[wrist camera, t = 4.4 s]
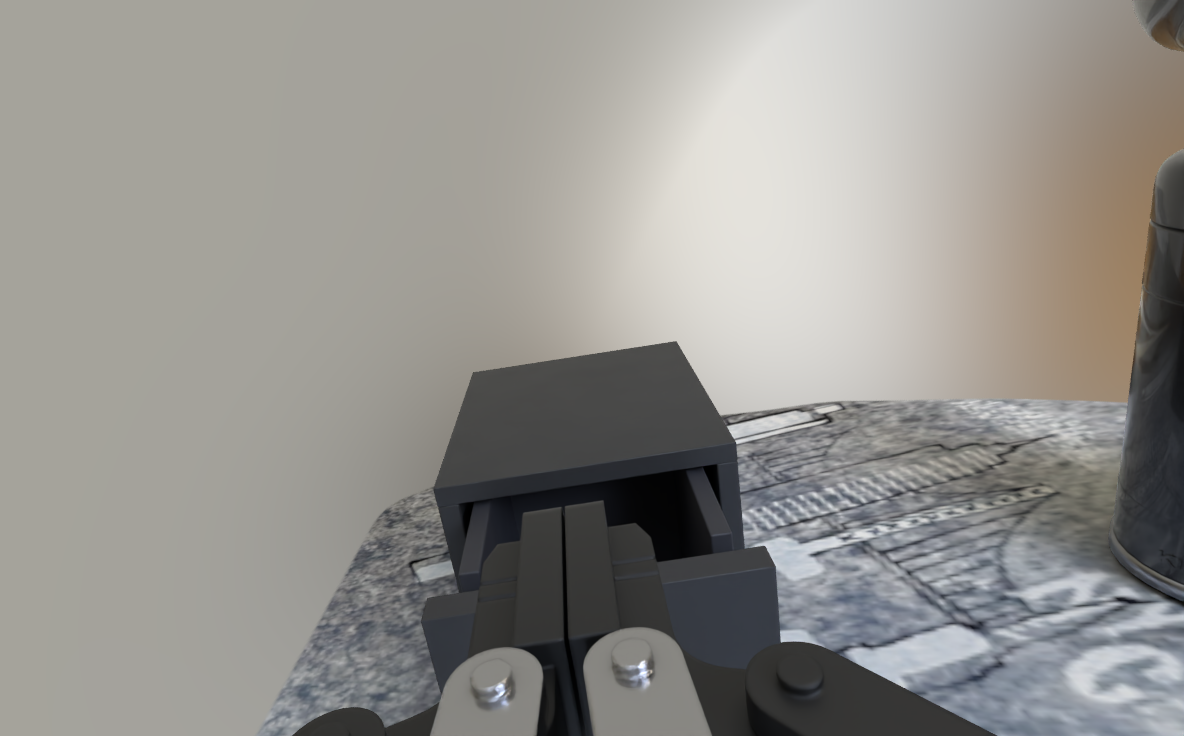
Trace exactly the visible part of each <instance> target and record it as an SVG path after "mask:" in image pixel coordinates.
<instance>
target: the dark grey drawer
mask: <svg viewBox="0 0 1184 736" xmlns="http://www.w3.org/2000/svg"><path fill="white" fill-rule="evenodd" d="M596 501H603V502H604V508H605V514H606V521H607V527H612V526H619V525H625V524H632V523H636V524H637V525H638V526H639V527H641V528H642V529H643V530H644V531H645V532H646V533H647V534H648V535H649V536H650V537H651V540H652V544H653V548H654V553H655V557H656V561H657V565H658V569H659V574H660V578H661V582H662V586H663V590H664V594H665V598H666V603H667V607H668V611H669V615H670V619H671V623H672V628H673V632H674V635H675V637H676V639H677V641H678V643H679V644H680V646H681V647H682V648H683V649H684V650H685V651H686V652H688V653H689V654H690V655H692V656H693V657H695V658H697V659H698V660H701V661H703V662H705V663H709V664H712V665H716V666H722V667H729V668H738V669H746V668H747V665H748V663H749V662H750V660H751V659H752V658H753V657H754V656H755V655H756V654H757V653H758V652H759V651H761V650H763V649H764V648H766V647H768V646H771V645H774V644H778V643H781V641H780V626H779V611H778V596H777V581H776V566H775V564H774V563H773V561H772V559H771V557H770V555H769V553H768V551H767V549H766V547H765V546H760V547H754V548H747V549H741V550H735V551H733V540H732V532H731V530H730V528H729V525H728V523H727V521H726V519H725V516H724V514H723V512H722V510H721V507H720V505H719V503H718V501H717V498H716V496H715V494H714V492H713V489H712V487H711V485H710V483H709V481H708V478H707V476H706V474H705V472H704V469H703V467H702V466H701V467H694V468H688V469H681V470H675V471H668V472H662V473H655V474H649V475H642V476H636V477H629V478H623V479H617V480H610V481H604V482H597V483H591V484H584V485H578V486H571V487H565V488H558V489H552V490H545V491H539V492H532V493H526V494H519V495H513V496H506V497H500V498H493V499H487V500H480V501H474V505H473V509H472V514H471V519H470V523H469V528H468V532H467V537H466V542H465V546H464V551H463V555H462V560H461V565H460V569H459V574H458V577H459V581H460V585H461V589H462V593H456V594H450V595H444V596H437V597H431V598H427V601H426V605H425V609H424V612H423V616H422V620H421V623H422V627H423V630H424V634H425V637H426V641H427V645H428V648H429V652H430V656H431V659H432V663H433V666H434V670H435V674H436V677H437V681H438V685H439V688H440V692H441V695H442V693H443V690H444V687H445V684H446V682H447V680H448V679H449V677H450V675H451V674H452V673H453V672H454V671H455V669H456V668H457V667H459V666H460V665H461V664H462V663H463V662H465V661H466V660H467V658H468V652H469V646H470V640H471V634H472V628H473V622H474V616H475V610H476V604H477V603H478V599H477V598H478V592H479V586H480V580H481V574H482V568H483V563H484V561H485V560H486V559H487V557H488V556H489V555H490V554H491V552H492V551H493V550H494V548H495V547H496V546H497V544H502V543H509V542H515V541H520V539H521V527H522V516H523V513H525V512H532V511H538V510H545V509H551V508H558V507H562V508H563V512H564V517H565V506H570V505H576V504H583V503H590V502H596ZM586 736H587V734H586Z"/></svg>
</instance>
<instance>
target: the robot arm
mask: <svg viewBox="0 0 1184 736" xmlns="http://www.w3.org/2000/svg"><path fill="white" fill-rule="evenodd" d="M1132 3H1133V8H1134V11H1135V15H1136V17H1137V19H1138V21H1139V23H1140V24H1141V27H1142V29H1143V30H1144V31H1145V32H1146V33H1147V35H1148V36H1149V37H1150V38H1151V39H1152V40H1153V41H1155V42H1157V43H1158V44H1160V45H1162V46H1164V47H1165V48H1168V49H1171V50H1177V51H1183V52H1184V0H1132ZM1150 219H1151V221H1150V223H1149V231H1148V239H1147V247H1146V255H1145V264H1144V272H1143V280H1142V284H1143V285H1142V291H1141V300H1140V308H1139V316H1138V325H1137V332H1136V341H1135V349H1134V357H1133V366H1132V373H1131V383H1130V391H1129V398H1128V406H1127V414H1126V423H1125V431H1124V439H1123V447H1122V455H1121V463H1120V471H1119V477H1118V485H1117V493H1116V502H1115V510H1114V516H1113V517H1112V520H1111V523H1110V531H1109V545H1110V548H1111V550H1112V552H1113V554H1114V555H1115V557H1116V558H1117V560H1118V561H1119V562H1120V563H1121V564H1122V565H1123V566H1124V567H1125V568H1126V569H1127V570H1128V571H1130V572H1131V573H1132V574H1133V575H1135V576H1136V577H1138V578H1139V579H1140V580H1142V581H1144V582H1145V583H1147V584H1148V585H1150V586H1152V587H1154V588H1155V589H1157V590H1159V591H1161V592H1163V593H1165V594H1167V595H1169V596H1171V597H1174V598H1176V599H1178V600H1181V601H1183V602H1184V149H1182V150H1180V151H1178V152H1176V153H1175V154H1173V155H1171V156H1170V157H1169V158H1168V159H1166V160H1165V161H1164V163H1163V164H1162V165H1161V167H1160V169H1159V171H1158V173H1157V175H1156V179H1155V183H1154V188H1153V196H1152V205H1151V214H1150ZM477 599H478V603H477V604H476V610H475V616H474V622H473V628H472V634H471V640H470V646H469V652H468V658H467V660H466V661H465V662H463V663H462V664H461V665H460V666H459V667H457V668H456V669H455V671H454V672H453V673H452V674H451V675H450V677H449V679H448V680H447V682H446V684H445V687H444V690H443V693H442V696H441V700H440V702H439V703H437V704H436V705H435V706H433V707H431V708H430V709H428V710H426V711H424V712H422V713H420V714H418V715H415V716H413V717H411V718H408V719H406V720H404V721H401V722H399V723H396V724H394V725H392V726H389V727H387V728H384V725H383V722H382V720H381V719H380V717H379V716H378V715H377V714H376V713H374V712H373V711H370V710H368V709H364V708H358V707H350V708H342V709H338V710H334V711H332V712H329V713H326V714H324V715H322V716H320V717H318V718H316V719H314V720H312V721H311V722H309V723H307V724H306V725H305V726H303V727H302V728H301V729H299V730H298V731H297V732H296V733H295V734H293V735H292V736H586V734H587V736H997V735H995V734H993V733H991V732H989V731H987V730H985V729H983V728H981V727H979V726H977V725H975V724H973V723H971V722H969V721H967V720H965V719H963V718H961V717H959V716H957V715H956V714H954V713H952V712H950V711H948V710H946V709H944V708H942V707H940V706H938V705H936V704H934V703H932V702H930V701H928V700H926V699H924V698H922V697H920V696H918V695H916V694H915V693H913V692H911V691H909V690H907V689H905V688H903V687H901V686H899V685H897V684H895V683H893V682H891V681H889V680H887V679H885V678H883V677H881V676H879V675H877V674H875V673H874V672H872V671H870V670H868V669H866V668H864V667H862V666H860V665H858V664H856V663H854V662H852V661H850V660H848V659H846V658H844V657H842V656H840V655H838V654H836V653H834V652H833V651H831V650H828V649H826V648H824V647H822V646H818V645H815V644H811V643H805V642H783V643H778V644H774V645H771V646H768V647H766V648H764V649H763V650H761V651H759V652H758V653H757V654H756V655H755V656H754V657H753V658H752V659H751V660H750V662H749V663H748V665H747V668H746V669H738V668H729V667H722V666H716V665H712V664H709V663H705V662H703V661H701V660H698V659H697V658H695V657H693V656H692V655H690V654H689V653H688V652H686V651H685V650H684V649H683V648H682V647H681V646H680V644H679V643H678V641H677V639H676V637H675V635H674V632H673V628H672V623H671V619H670V615H669V611H668V607H667V603H666V598H665V594H664V590H663V586H662V582H661V578H660V574H659V569H658V565H657V561H656V557H655V553H654V548H653V544H652V540H651V537H650V536H649V535H648V534H647V533H646V532H645V531H644V530H643V529H642V528H641V527H639V526H638V525H637V524H636V523H632V524H625V525H619V526H612V527H607V521H606V514H605V508H604V502H603V501H596V502H590V503H583V504H576V505H570V506H565V517H564V512H563V508H562V507H558V508H551V509H545V510H538V511H532V512H525V513H523V516H522V527H521V539H520V541H515V542H509V543H502V544H497V546H496V547H495V548H494V550H493V551H492V552H491V554H490V555H489V556H488V557H487V559H486V560H485V561H484V563H483V568H482V574H481V580H480V586H479V592H478V598H477Z"/></svg>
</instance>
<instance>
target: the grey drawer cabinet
mask: <svg viewBox="0 0 1184 736" xmlns="http://www.w3.org/2000/svg"><path fill="white" fill-rule="evenodd" d="M701 466H702V467H703V469H704V472H705V474H706V476H707V478H708V481H709V483H710V485H711V487H712V489H713V492H714V494H715V496H716V498H717V501H718V503H719V505H720V507H721V510H722V512H723V514H724V516H725V519H726V521H727V523H728V525H729V528H730V530H731V532H732V540H733V551H735V550H741V549H745V547H744V535H743V523H742V511H741V499H740V486H739V474H738V462H737V449H736V442H735V440H734V439H733V437H732V435H731V433H730V432H729V430H728V428H727V427H726V425H725V423H724V422H723V420H722V418H721V416H720V415H719V413H718V412H717V410H716V408H715V406H714V405H713V403H712V401H711V399H710V398H709V396H708V395H707V393H706V391H705V389H704V388H703V386H702V385H701V383H700V381H699V379H698V377H697V376H696V374H695V372H694V371H693V369H692V367H691V366H690V364H689V362H688V360H687V359H686V357H685V355H684V354H683V352H682V350H681V349H680V347H679V345H678V343H677V342H668V343H662V344H655V345H649V346H643V347H636V348H630V349H623V350H616V351H610V352H604V353H597V354H590V355H585V356H578V357H571V358H564V359H559V360H551V361H545V362H538V363H532V364H525V365H519V366H512V367H506V368H500V369H493V370H486V371H480V372H473V375H472V377H471V380H470V383H469V386H468V389H467V392H466V395H465V398H464V401H463V404H462V406H461V410H460V412H459V415H458V418H457V421H456V424H455V427H454V430H453V433H452V436H451V439H450V442H449V445H448V448H447V451H446V454H445V457H444V459H443V462H442V465H441V468H440V471H439V475H438V477H437V480H436V483H435V486H434V489H433V490H434V494H435V498H436V502H437V506H438V507H439V508H438V509H439V513H440V517H441V521H442V525H443V529H444V533H445V537H446V541H447V545H448V549H449V553H450V557H451V561H452V565H453V569H454V573H455V577H456V581H457V585H458V589H459V593H462V589H461V585H460V581H459V577H458V574H459V569H460V565H461V560H462V555H463V551H464V546H465V542H466V537H467V532H468V528H469V523H470V519H471V514H472V509H473V505H474V501H480V500H487V499H493V498H500V497H506V496H513V495H519V494H526V493H532V492H539V491H545V490H552V489H558V488H565V487H571V486H578V485H584V484H591V483H597V482H604V481H610V480H617V479H623V478H629V477H636V476H642V475H649V474H655V473H662V472H668V471H675V470H681V469H688V468H694V467H701Z"/></svg>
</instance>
